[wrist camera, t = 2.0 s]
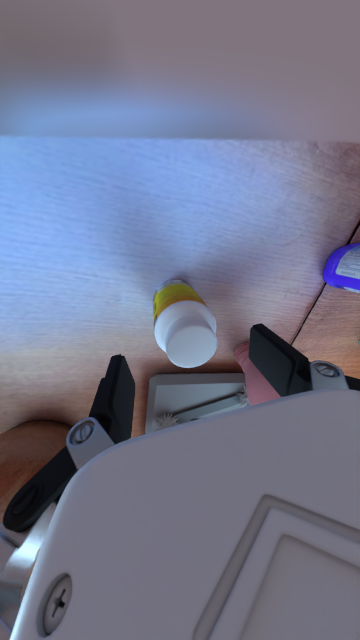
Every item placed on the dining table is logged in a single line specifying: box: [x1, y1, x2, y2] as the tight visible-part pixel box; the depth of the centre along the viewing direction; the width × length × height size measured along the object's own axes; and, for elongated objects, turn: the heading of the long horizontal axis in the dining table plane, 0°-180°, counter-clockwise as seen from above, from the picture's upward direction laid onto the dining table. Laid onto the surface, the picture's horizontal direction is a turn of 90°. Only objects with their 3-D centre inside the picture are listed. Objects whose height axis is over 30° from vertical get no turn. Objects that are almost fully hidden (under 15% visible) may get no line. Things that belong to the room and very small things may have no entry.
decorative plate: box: [145, 373, 251, 434], centre depth 31 cm, size 30×22×7 cm
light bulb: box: [234, 343, 281, 405], centre depth 22 cm, size 7×7×12 cm
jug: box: [0, 420, 72, 577], centre depth 21 cm, size 18×18×20 cm
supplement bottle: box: [153, 280, 217, 368], centre depth 16 cm, size 6×6×10 cm
